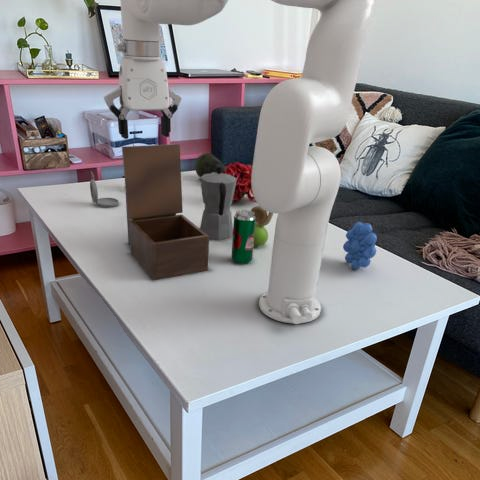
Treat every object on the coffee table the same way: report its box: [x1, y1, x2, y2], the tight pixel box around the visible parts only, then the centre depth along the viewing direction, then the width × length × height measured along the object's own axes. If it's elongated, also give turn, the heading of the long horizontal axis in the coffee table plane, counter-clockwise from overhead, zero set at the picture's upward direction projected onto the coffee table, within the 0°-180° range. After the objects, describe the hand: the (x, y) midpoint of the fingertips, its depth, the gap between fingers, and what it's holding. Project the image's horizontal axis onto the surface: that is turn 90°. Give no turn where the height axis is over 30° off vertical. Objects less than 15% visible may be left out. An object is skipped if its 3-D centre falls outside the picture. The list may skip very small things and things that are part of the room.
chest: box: [129, 213, 210, 281], centre depth 112 cm, size 15×13×8 cm
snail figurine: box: [250, 205, 274, 247], centre depth 123 cm, size 5×6×12 cm
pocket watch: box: [89, 170, 119, 208], centre depth 142 cm, size 8×8×10 cm
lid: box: [121, 143, 184, 219], centre depth 113 cm, size 16×13×5 cm
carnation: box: [194, 152, 256, 203], centre depth 159 cm, size 16×18×35 cm
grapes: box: [342, 221, 378, 271], centre depth 115 cm, size 12×7×12 cm, turn 19°
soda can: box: [230, 209, 256, 265], centre depth 114 cm, size 5×5×12 cm
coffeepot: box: [199, 166, 237, 241], centre depth 125 cm, size 15×9×18 cm, turn 10°
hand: (145, 136), depth 110 cm, fingers open, 9 cm apart
